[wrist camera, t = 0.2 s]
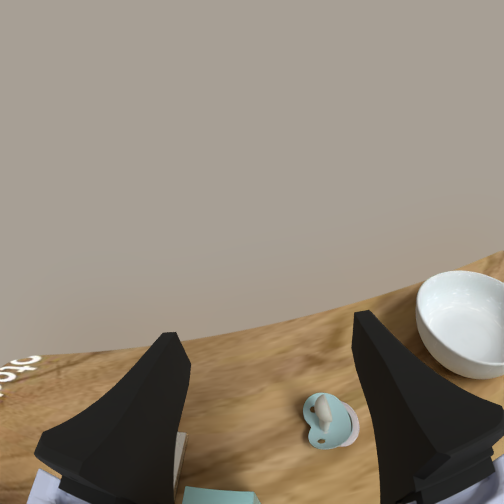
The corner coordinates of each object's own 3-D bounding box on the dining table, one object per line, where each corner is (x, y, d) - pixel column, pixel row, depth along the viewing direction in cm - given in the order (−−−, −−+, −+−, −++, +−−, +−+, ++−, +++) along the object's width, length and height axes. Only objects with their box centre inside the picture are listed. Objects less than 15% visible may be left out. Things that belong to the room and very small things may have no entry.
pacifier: (348, 397, 29) (299, 406, 29) (357, 364, 26) (301, 375, 26) (365, 446, 22) (310, 459, 22) (380, 419, 19) (316, 435, 19)
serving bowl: (475, 427, 18) (503, 394, 15) (379, 336, 37) (387, 299, 34) (533, 345, 24) (550, 311, 21) (454, 290, 42) (462, 258, 39)
